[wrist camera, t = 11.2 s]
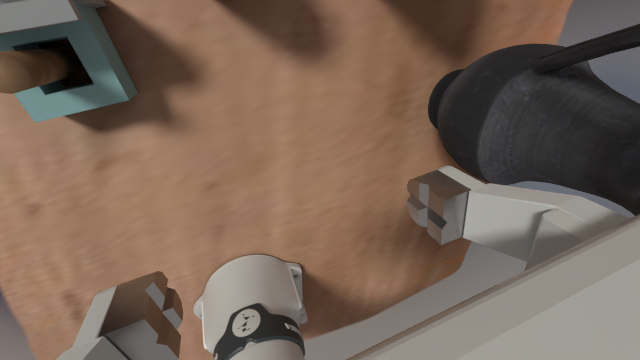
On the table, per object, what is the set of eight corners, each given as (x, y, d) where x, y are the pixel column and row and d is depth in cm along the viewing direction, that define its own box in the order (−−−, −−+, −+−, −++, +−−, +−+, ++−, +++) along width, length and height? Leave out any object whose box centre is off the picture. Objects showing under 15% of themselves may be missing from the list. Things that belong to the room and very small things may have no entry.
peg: (88, 73, 28) (36, 88, 20) (59, 78, 27) (-7, 97, 19) (72, 44, 27) (9, 49, 18) (41, 50, 26) (-38, 57, 18)
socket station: (147, 90, 30) (127, 109, 23) (44, 114, 28) (-16, 143, 21) (100, -7, 26) (55, -24, 18) (-27, 14, 24) (-138, 3, 16)
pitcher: (422, 168, 49) (641, 304, 24) (382, 61, 38) (717, 111, 13) (499, 113, 50) (792, 191, 25) (483, -9, 38) (995, -93, 13)
